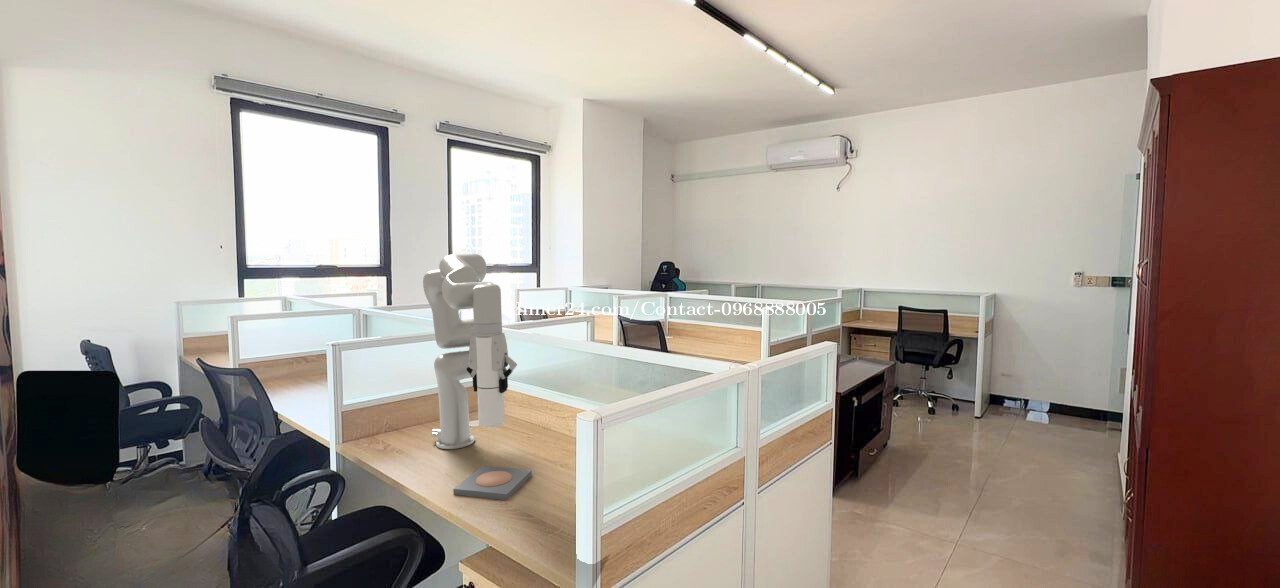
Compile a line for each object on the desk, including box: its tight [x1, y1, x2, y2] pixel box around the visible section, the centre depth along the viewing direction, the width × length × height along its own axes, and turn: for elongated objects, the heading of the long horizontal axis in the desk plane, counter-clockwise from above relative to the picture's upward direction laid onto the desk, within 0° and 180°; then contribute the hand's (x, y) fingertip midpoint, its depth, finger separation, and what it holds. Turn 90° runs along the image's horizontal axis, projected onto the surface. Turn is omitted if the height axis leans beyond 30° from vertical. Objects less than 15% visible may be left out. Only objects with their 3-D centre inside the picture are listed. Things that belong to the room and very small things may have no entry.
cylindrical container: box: [476, 337, 506, 428], centre depth 154 cm, size 7×7×25 cm
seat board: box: [452, 465, 533, 501], centre depth 157 cm, size 16×16×2 cm
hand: (490, 390), depth 155 cm, fingers closed on cylindrical container, 7 cm apart
